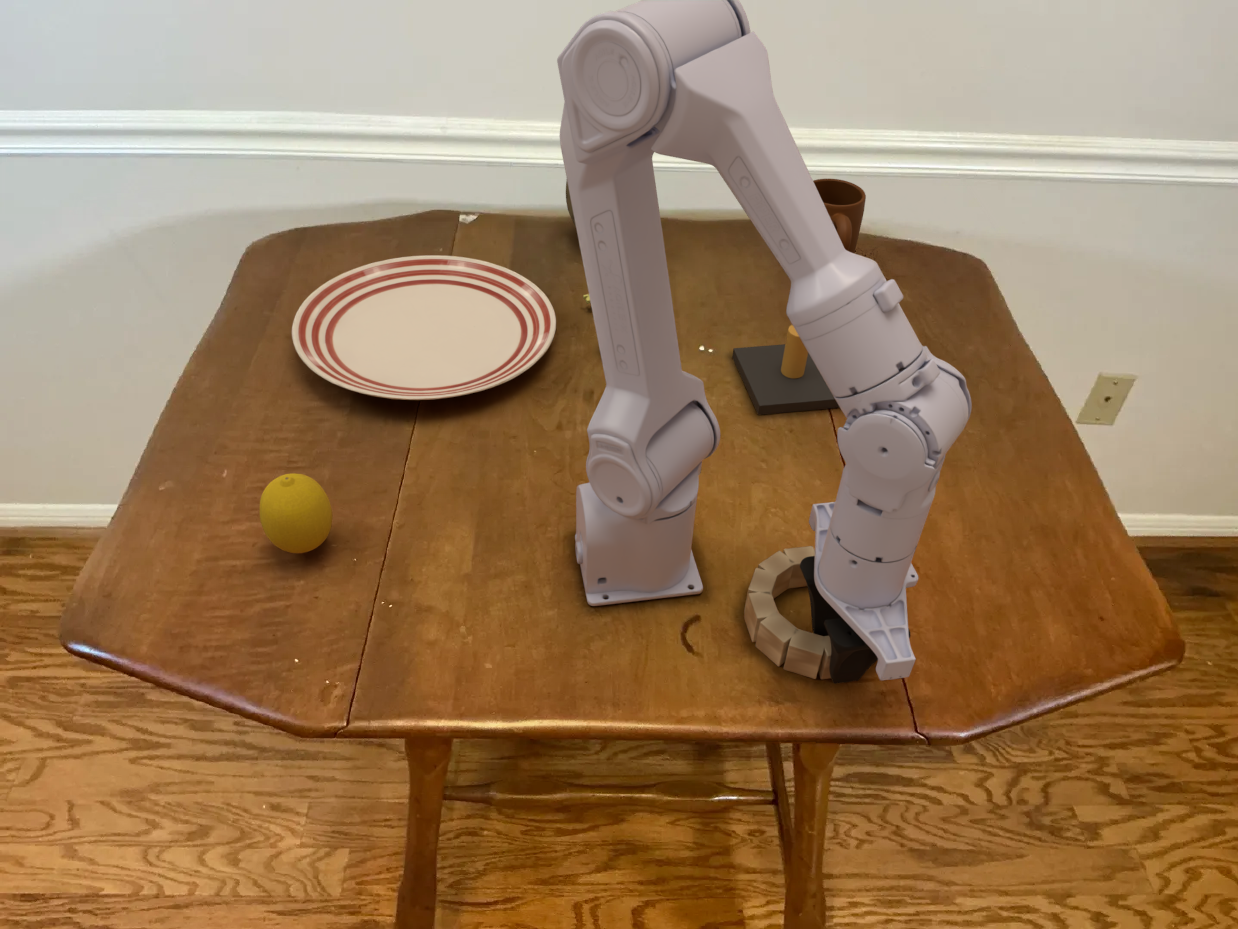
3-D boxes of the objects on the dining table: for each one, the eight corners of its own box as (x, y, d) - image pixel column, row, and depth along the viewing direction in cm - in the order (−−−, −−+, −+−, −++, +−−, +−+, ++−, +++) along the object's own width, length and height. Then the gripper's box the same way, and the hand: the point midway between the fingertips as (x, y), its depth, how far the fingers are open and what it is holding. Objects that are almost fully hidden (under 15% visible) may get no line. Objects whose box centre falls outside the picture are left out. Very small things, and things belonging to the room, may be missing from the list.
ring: (767, 687, 70) (773, 663, 68) (730, 578, 78) (734, 554, 76) (903, 669, 72) (913, 644, 70) (853, 564, 80) (860, 539, 78)
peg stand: (758, 415, 95) (766, 362, 90) (732, 357, 102) (738, 306, 98) (852, 406, 96) (865, 354, 92) (820, 350, 103) (830, 299, 99)
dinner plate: (522, 262, 115) (521, 238, 113) (587, 395, 96) (588, 368, 94) (288, 295, 108) (282, 269, 106) (309, 445, 89) (302, 417, 87)
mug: (865, 298, 112) (882, 225, 105) (801, 297, 111) (815, 224, 105) (845, 247, 121) (859, 177, 114) (785, 246, 120) (797, 176, 114)
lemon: (305, 582, 77) (284, 512, 71) (257, 554, 79) (234, 484, 73) (353, 541, 80) (337, 471, 75) (306, 515, 82) (287, 446, 77)
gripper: (980, 609, 57) (925, 733, 66) (889, 452, 68) (852, 578, 77) (870, 623, 56) (829, 747, 65) (794, 461, 67) (768, 588, 76)
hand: (835, 657), depth 71 cm, fingers open, 3 cm apart
